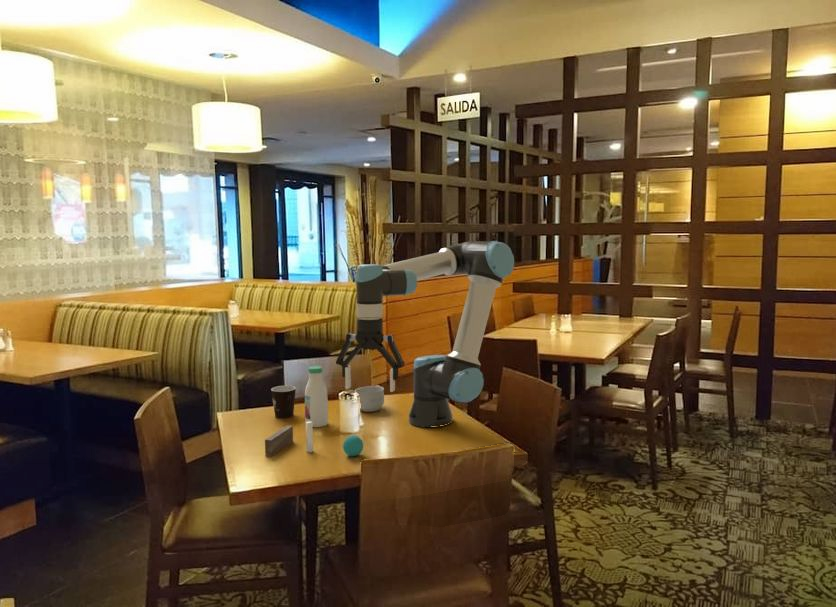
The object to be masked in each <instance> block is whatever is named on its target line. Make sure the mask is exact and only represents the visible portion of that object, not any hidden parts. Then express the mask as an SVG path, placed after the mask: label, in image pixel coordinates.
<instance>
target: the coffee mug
mask: <svg viewBox="0 0 836 607" xmlns="http://www.w3.org/2000/svg"><path fill="white" fill-rule="evenodd" d="M296 389H297V388H296V386H293V385H278V386H274V387H272V388H271V389H270V390H271V391H270V392H271V397H272V404H273V410H274V416H275V418H276V419H283V420H284V419H289V418H292V417H294V413H295V400H296Z"/></svg>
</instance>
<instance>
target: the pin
mask: <svg viewBox="0 0 836 607" xmlns="http://www.w3.org/2000/svg"><path fill="white" fill-rule="evenodd" d="M313 428H314V427H313V425H312V422H311V421H309V422H306V424H305V445H306V446H305V448H306V451H305V452H306V453H309V454H310V453H313V452H314V434H313V432H314V430H313Z"/></svg>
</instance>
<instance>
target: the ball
mask: <svg viewBox="0 0 836 607" xmlns="http://www.w3.org/2000/svg"><path fill="white" fill-rule="evenodd" d="M342 448H343V451H344V452H345V454H346V455H347V456H350V457H356V456H358V455H360V454H361V453H363V450H364V442H363V440H362V439H361V437H360V436H358V435H353V434H352V435H349V436H347V437H346V438H345V440H344V441H343V443H342Z"/></svg>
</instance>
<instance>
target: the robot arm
mask: <svg viewBox="0 0 836 607" xmlns="http://www.w3.org/2000/svg"><path fill="white" fill-rule="evenodd" d="M514 267H515V257H514V254H513V253H512V249H511V248H510V247H509V245H508V244H506V243H504V242H500V241H495V240H491V241H483V240H482V241H480V240H478V241H477V240H476V241H475V240H473V241H472V240H471V241H465V242H462V243H458V244H454V245H451V246H448V247H443V248H440V250H439V251H438V252H434V253H430V254H425V255H421V256H417V257H413V258H409V259H405V260H400V261H396V262H392V263H387V264H383V265H381V264H379V263H378V264H377V263H375V264H373V263H371V264H370V263H369V264H368V263H367V264H359V265H357V268H356V274H355V276H354V282H355V288H356V317H357V319H356V334H355V333H352V332H349V333H346V334H345V335H346V336H345V342H344V344H343V345H342V348H341V350H340V353H339V354H338V357H337V359H336V361H335V364H336V365H339V366H341V373H342V375H341V376H342V378H345V383H344V384H345V385H344V386H345V390H349V389H350V388H352V377H351V376H352V372H351V371H352V370H351V369H352V368H351V365H349V364H350V363H351V361H352V360H353V359H354V358H355V357H356V356H357V354H358V353H360V351H361V350H364V351H368V350H370V351H375V350H376V351H377V352H379V353H380V354H381V355H382V357H383V358H384V359H385V361H386V362H387V363H388V365H389V366H390V367H391V368H390V369H389V391H390V392H391V393H393V392H395V390H396V381H398V379H399V369H400V368H403V367H404V366H405V365H406V364H405V361H404V359H403V357H402V355H401V353H400V351H399V349H398V347H397V345H396V342H395V338H394V335H393V334H389V335H384V333H383V332H384V326H383V325H384V324H383V322H384V321H383V320H384V319H383V318H382V317H383V315H384V314H383V311H384V310H383V307H384V305H383V301H384V299H383V298H384V297H389V296H407V295H411V294H414V293H415V291H416V290H417V286H418V281H422V280H425V279H426V280H427V279H430V278H433V277H437V276H441V275H445V276H452V275H467V278H468V280H469V282H470V283H469V287H468V292H467V295H466V298H465V302H464V307H463V310H462V314H461V318H460V321H459V325H458V328H457V332H456V337H455V340H454V344H453V347H452V351H451V352H450V353H448V354H446V355H445V354H433V355H432V354H431V355H424V356H418V357H417V358H415V359H414V361H413V369H412V370H413V374H412V375H413V401H412V405H411V408H410V410H409V414H408V422H410V423H411V424H410V423H409V424H410V425H412V424H413V425H412V426H414V425H417V426H416V427H418V426H424V427H423V428H425V427H431V426H440V425H445V424H448V423H450V422H452V423H453V413H452V409H451V407H450V404H449V400H452V401H454V402H458V403H459V402H460V403H469V402H472V401H473V400H474V399H476V398H477V397H478V396H479V395H480V394H481V392H482V390H483V388H484V382H485V380H484V379H485V378H484V375H483V372H482V371H481V370H480V369H481V364H482V363H480V361H479V354H480V351H481V347H482V343H483V339H484V335H485V331H486V327H487V323H488V320H489V316H490V312H491V308H492V304H493V301H494V297H495V293H496V289H498V288H500V287H502V286H503V285H502V284H503V280H504V279H506V278H507V277H509V276H510V275H511V274H512V272H513V271H514ZM354 340H356V342H357V345H355V347H354V348H353V350H352V351H351V352H350V354H349V355H348V356H347V357H346V355H347V353H348V350H349V348H350V347H351V345H352V343H353V341H354ZM384 340H385V342H386V343H387V344H388V347H389V349H390V351H391V353H392V355H393V356H392V355H391V353H389V351H388V350H387V349H386V346H385V345H384V344H383V342H384ZM345 357H346V358H345ZM448 399H449V400H448Z"/></svg>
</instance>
